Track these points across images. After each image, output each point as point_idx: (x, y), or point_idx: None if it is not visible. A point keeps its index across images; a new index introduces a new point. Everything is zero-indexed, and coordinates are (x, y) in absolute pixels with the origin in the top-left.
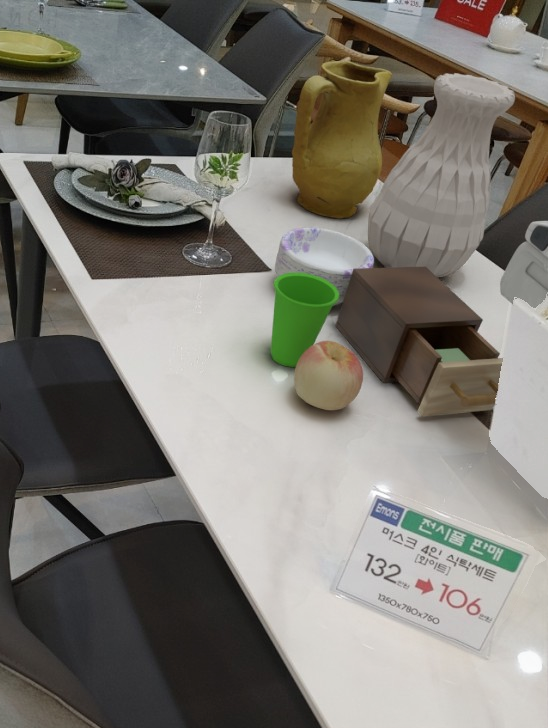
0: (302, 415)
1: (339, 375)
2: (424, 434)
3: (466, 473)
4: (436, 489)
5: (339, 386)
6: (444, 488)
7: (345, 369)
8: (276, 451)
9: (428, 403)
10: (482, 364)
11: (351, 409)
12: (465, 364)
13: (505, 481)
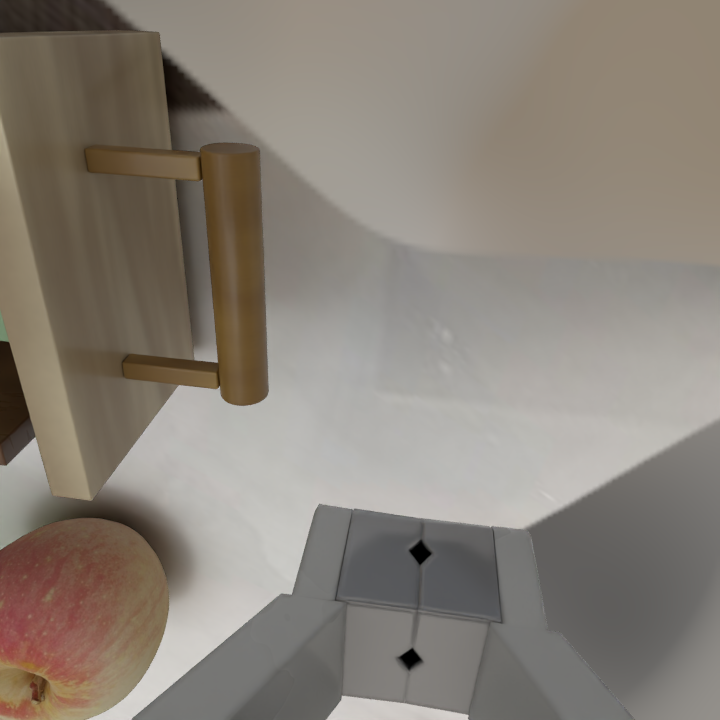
0: None
1: (113, 695)
2: None
3: (472, 367)
4: (502, 488)
5: (141, 670)
6: (507, 467)
7: (91, 691)
8: None
9: (172, 389)
10: (41, 301)
11: (139, 496)
12: (54, 393)
13: (555, 262)
